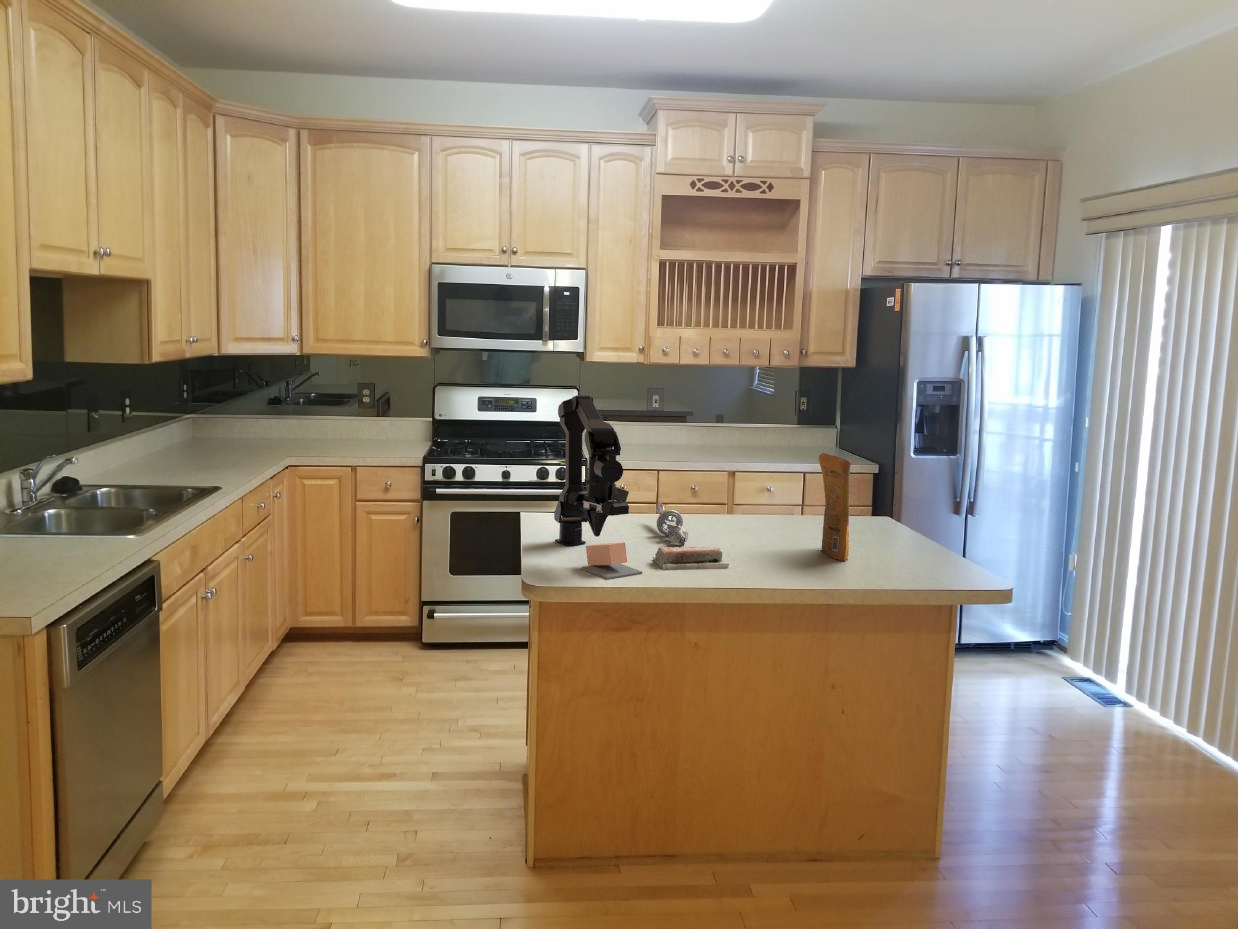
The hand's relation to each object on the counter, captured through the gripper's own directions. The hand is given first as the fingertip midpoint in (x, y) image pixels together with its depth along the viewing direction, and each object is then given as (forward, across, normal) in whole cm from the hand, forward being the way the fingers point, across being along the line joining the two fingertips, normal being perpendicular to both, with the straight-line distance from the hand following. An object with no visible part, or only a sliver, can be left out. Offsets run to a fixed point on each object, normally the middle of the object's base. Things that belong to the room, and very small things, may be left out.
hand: (596, 536), depth 254 cm
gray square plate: (+8, -7, 0) cm, 10 cm away
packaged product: (+8, -11, -23) cm, 27 cm away
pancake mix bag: (+8, -22, -66) cm, 70 cm away
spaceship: (+8, +17, -39) cm, 43 cm away
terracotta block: (+5, +1, 0) cm, 5 cm away
